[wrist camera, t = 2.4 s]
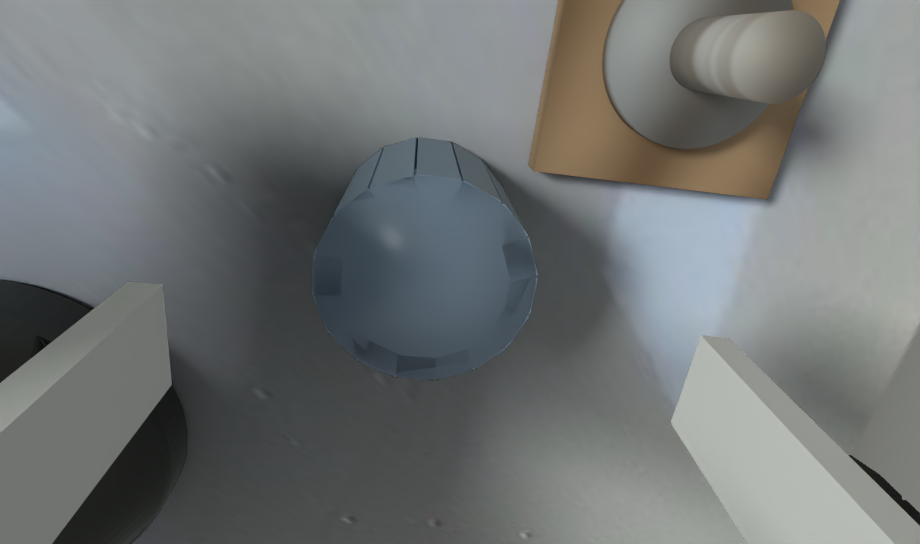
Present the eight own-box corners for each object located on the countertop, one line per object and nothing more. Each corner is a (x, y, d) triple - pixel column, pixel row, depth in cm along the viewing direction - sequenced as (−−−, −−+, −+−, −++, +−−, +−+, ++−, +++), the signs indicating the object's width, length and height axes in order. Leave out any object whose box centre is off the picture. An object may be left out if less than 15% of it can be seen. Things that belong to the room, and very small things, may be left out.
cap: (337, 289, 24) (309, 371, 18) (345, 128, 21) (315, 162, 15) (493, 303, 25) (515, 386, 19) (520, 150, 22) (556, 190, 16)
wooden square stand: (528, 164, 22) (569, 212, 16) (580, -122, 19) (660, -205, 12) (751, 192, 23) (870, 246, 17) (844, -74, 20) (1040, -127, 13)
